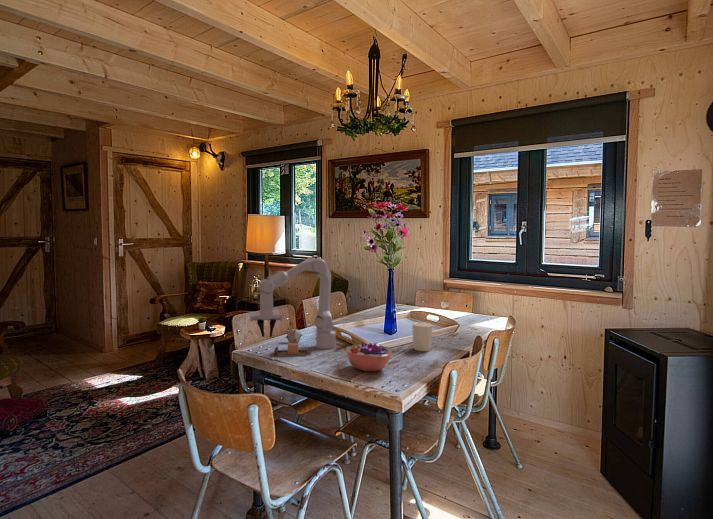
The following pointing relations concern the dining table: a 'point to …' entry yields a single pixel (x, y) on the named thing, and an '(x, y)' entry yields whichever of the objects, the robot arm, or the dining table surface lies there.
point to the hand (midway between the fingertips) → (267, 336)
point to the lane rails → (290, 355)
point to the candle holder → (422, 336)
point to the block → (292, 348)
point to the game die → (293, 335)
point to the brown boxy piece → (287, 352)
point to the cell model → (368, 356)
